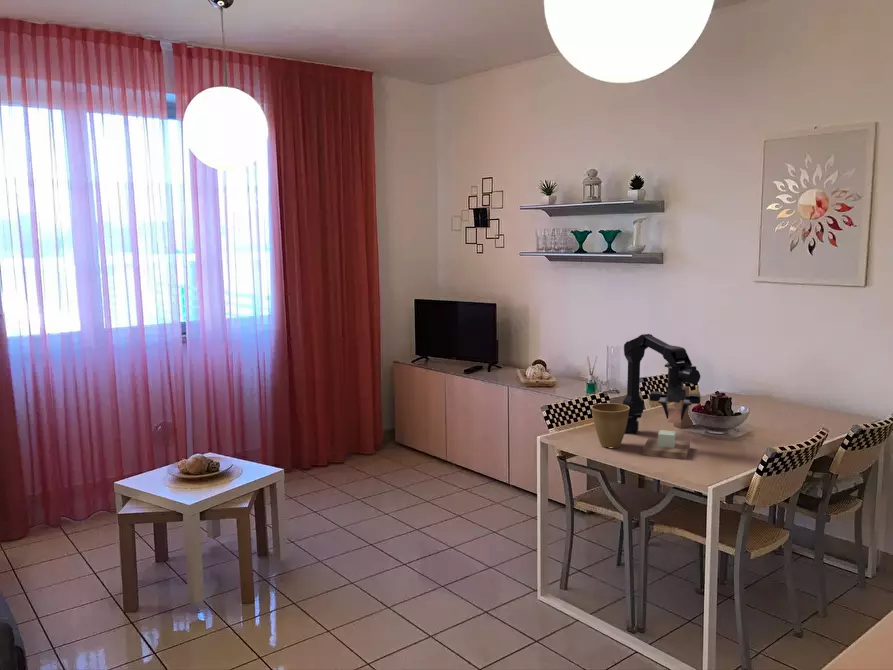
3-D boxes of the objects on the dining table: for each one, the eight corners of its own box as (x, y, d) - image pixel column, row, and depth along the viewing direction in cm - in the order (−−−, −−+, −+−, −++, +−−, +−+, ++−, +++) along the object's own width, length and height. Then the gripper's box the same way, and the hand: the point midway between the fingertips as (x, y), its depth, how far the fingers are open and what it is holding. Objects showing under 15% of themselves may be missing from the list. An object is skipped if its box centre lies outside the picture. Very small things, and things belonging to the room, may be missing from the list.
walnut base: (642, 455, 279) (642, 448, 279) (648, 443, 294) (648, 437, 293) (686, 459, 273) (686, 453, 272) (689, 447, 287) (690, 441, 287)
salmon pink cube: (667, 422, 283) (667, 410, 283) (668, 419, 288) (669, 407, 287) (680, 423, 281) (680, 411, 281) (682, 420, 286) (682, 408, 285)
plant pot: (624, 440, 299) (625, 402, 297) (632, 451, 284) (633, 411, 282) (588, 440, 299) (588, 402, 297) (594, 451, 285) (594, 411, 282)
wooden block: (688, 423, 323) (689, 383, 321) (695, 425, 319) (697, 385, 317) (673, 426, 319) (674, 386, 316) (681, 428, 315) (682, 388, 313)
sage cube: (657, 446, 281) (657, 434, 281) (659, 442, 287) (659, 430, 286) (673, 448, 279) (674, 435, 278) (675, 443, 284) (675, 431, 284)
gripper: (648, 382, 278) (647, 422, 280) (700, 385, 271) (698, 426, 274) (651, 377, 289) (650, 415, 291) (701, 379, 282) (700, 418, 284)
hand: (674, 419), depth 284 cm, fingers closed on salmon pink cube, 5 cm apart
